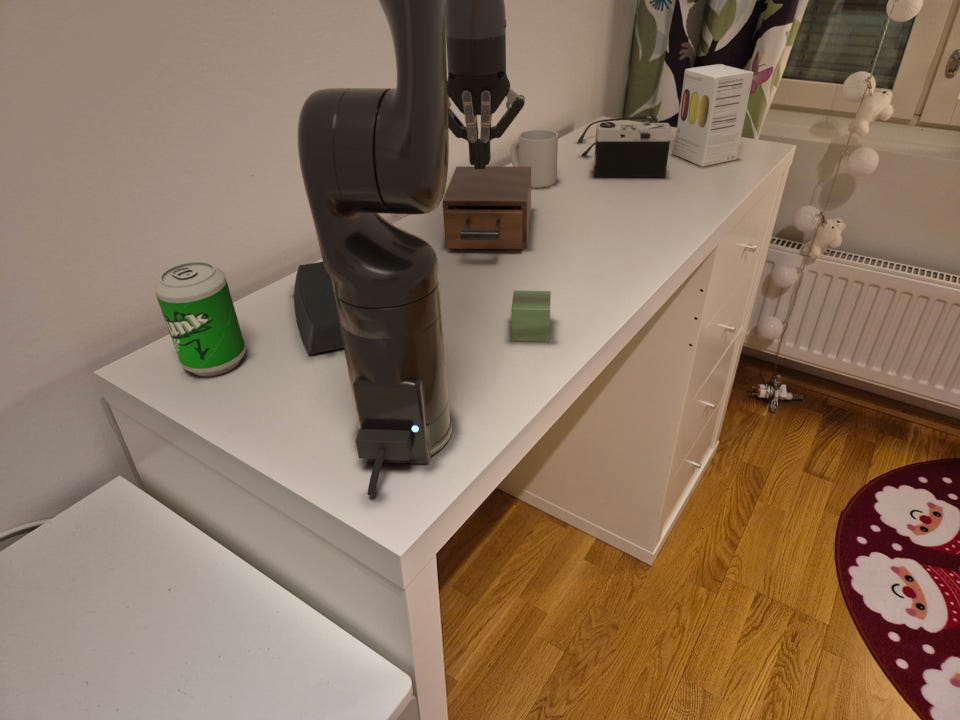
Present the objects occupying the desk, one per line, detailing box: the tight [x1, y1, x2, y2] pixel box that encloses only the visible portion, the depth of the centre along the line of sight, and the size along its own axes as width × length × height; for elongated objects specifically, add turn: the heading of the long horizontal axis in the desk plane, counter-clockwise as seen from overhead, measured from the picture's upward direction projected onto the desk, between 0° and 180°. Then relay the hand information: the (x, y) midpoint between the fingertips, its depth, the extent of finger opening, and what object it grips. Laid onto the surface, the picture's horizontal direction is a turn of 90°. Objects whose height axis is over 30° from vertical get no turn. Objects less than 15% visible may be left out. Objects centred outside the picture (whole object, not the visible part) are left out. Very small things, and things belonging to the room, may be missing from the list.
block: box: [510, 289, 552, 343], centre depth 81 cm, size 5×5×5 cm
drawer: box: [445, 206, 523, 250], centre depth 102 cm, size 20×12×6 cm, turn 174°
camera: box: [593, 120, 672, 179], centre depth 127 cm, size 14×9×10 cm, turn 76°
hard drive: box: [293, 261, 344, 355], centre depth 87 cm, size 13×19×4 cm
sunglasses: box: [577, 114, 659, 157], centre depth 140 cm, size 16×17×5 cm
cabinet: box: [441, 166, 532, 250], centre depth 107 cm, size 16×13×8 cm
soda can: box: [153, 260, 247, 377], centre depth 76 cm, size 8×8×12 cm
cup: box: [509, 129, 559, 189], centre depth 125 cm, size 7×10×9 cm
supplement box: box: [672, 63, 755, 167], centre depth 130 cm, size 10×9×17 cm
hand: (480, 167), depth 92 cm, fingers closed
